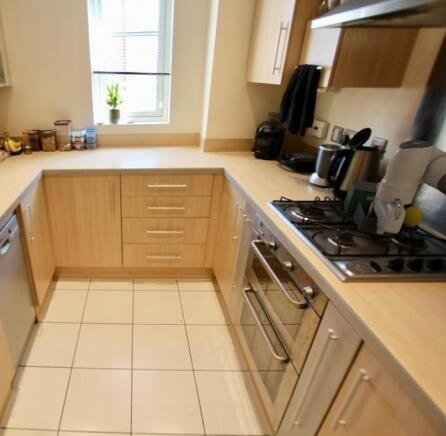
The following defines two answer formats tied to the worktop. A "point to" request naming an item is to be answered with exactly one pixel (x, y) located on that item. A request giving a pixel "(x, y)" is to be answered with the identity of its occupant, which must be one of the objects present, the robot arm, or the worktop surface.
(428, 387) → the worktop surface
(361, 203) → the cutlery holder
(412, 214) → the lemon
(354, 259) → the worktop surface
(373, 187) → the bread bin
